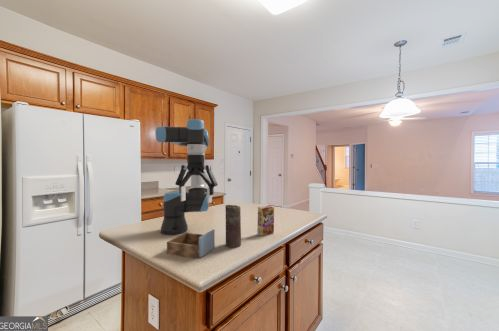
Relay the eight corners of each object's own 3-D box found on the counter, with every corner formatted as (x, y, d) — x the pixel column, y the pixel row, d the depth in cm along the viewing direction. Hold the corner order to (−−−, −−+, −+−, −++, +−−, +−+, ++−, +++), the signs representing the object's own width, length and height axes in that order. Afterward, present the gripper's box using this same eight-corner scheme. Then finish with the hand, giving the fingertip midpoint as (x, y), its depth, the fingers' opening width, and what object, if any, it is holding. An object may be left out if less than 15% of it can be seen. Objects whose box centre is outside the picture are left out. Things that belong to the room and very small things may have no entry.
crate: (167, 255, 100) (166, 242, 100) (186, 244, 113) (186, 232, 113) (196, 260, 95) (196, 246, 95) (213, 248, 108) (213, 235, 108)
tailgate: (198, 259, 96) (198, 237, 96) (212, 248, 107) (212, 229, 107) (200, 259, 95) (200, 238, 95) (215, 248, 107) (214, 229, 106)
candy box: (261, 236, 125) (261, 208, 125) (257, 234, 129) (257, 207, 128) (274, 233, 130) (274, 206, 129) (269, 231, 133) (269, 205, 133)
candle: (225, 244, 113) (225, 203, 113) (240, 243, 114) (240, 203, 113) (225, 250, 106) (225, 207, 105) (241, 249, 106) (241, 206, 106)
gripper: (167, 154, 104) (167, 201, 104) (217, 153, 96) (217, 204, 96) (177, 154, 111) (177, 198, 111) (224, 154, 103) (225, 201, 103)
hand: (196, 201), depth 104 cm, fingers open, 13 cm apart
